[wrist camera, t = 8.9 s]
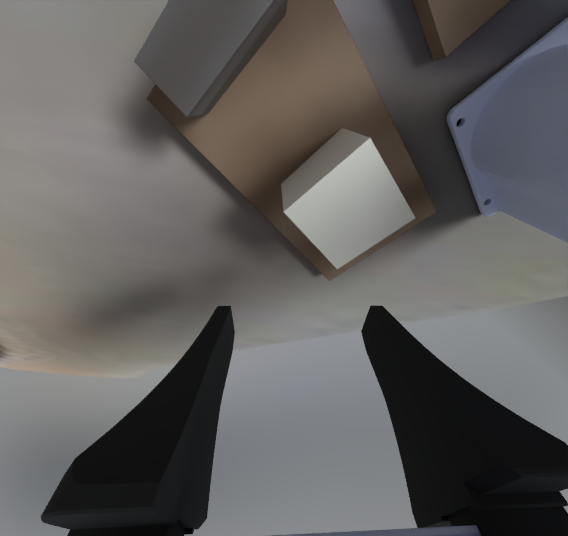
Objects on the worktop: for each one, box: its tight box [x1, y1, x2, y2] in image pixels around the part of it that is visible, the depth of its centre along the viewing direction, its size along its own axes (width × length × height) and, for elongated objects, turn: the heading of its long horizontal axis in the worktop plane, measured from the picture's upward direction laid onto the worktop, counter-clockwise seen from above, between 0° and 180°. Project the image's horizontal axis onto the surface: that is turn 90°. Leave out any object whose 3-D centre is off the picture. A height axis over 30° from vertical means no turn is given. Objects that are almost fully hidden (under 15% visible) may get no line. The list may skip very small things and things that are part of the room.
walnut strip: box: [134, 0, 437, 281], centre depth 14 cm, size 18×10×5 cm, turn 41°
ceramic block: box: [281, 128, 415, 269], centre depth 14 cm, size 5×5×5 cm
